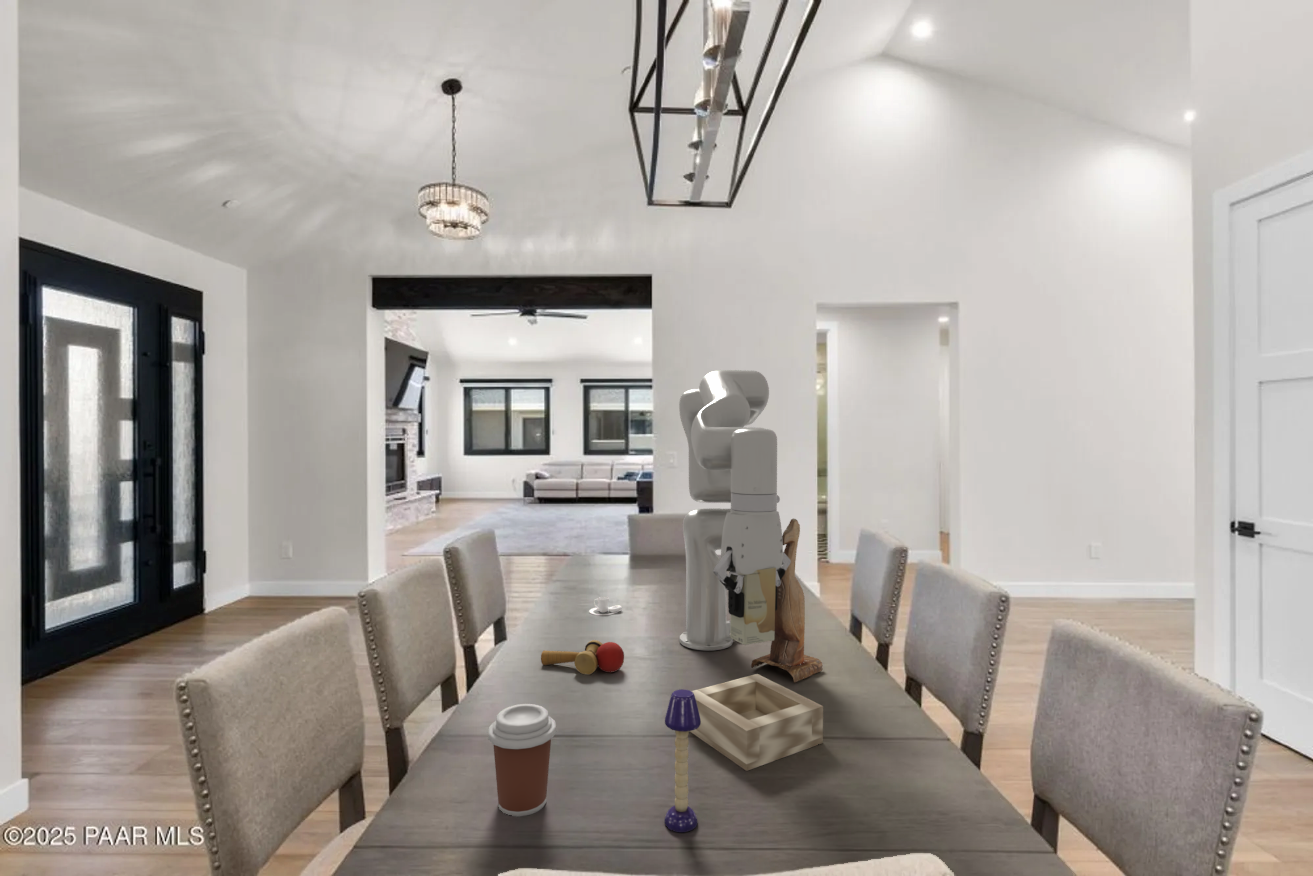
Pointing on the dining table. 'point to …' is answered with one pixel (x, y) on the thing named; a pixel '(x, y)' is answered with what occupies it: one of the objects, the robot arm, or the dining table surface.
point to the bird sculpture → (790, 619)
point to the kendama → (589, 657)
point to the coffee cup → (522, 757)
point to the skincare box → (756, 609)
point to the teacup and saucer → (605, 606)
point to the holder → (757, 720)
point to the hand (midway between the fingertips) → (753, 611)
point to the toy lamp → (682, 757)
